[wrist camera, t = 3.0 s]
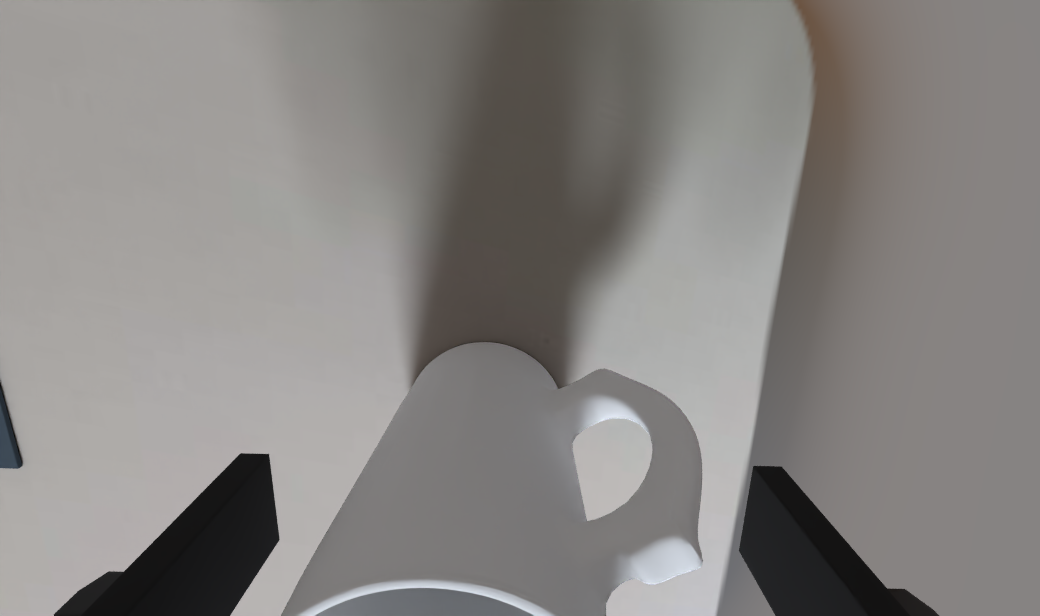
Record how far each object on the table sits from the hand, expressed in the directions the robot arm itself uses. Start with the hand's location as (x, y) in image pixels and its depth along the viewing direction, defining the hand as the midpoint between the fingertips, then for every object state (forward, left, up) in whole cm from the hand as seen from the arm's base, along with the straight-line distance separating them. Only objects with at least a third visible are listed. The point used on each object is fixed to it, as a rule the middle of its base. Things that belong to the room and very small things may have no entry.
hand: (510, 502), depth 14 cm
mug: (0, 0, -7) cm, 7 cm away
